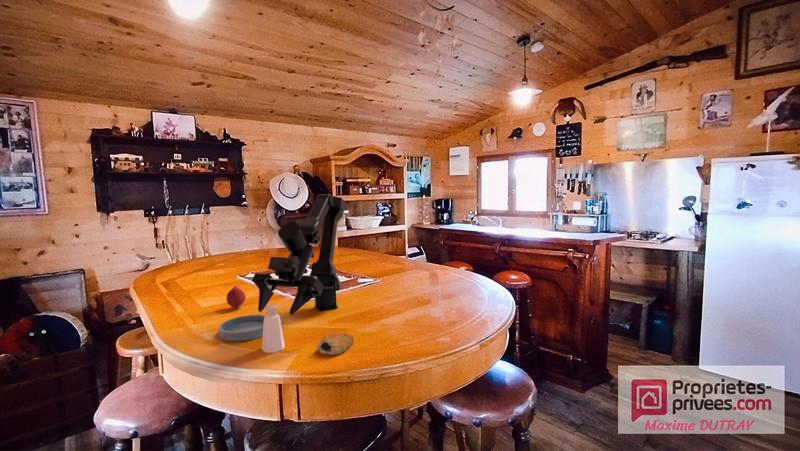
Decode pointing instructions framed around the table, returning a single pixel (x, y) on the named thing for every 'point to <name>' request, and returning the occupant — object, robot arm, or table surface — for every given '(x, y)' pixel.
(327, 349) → the pastry
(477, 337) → the table surface
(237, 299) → the onion
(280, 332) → the pepper shaker
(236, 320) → the dish
